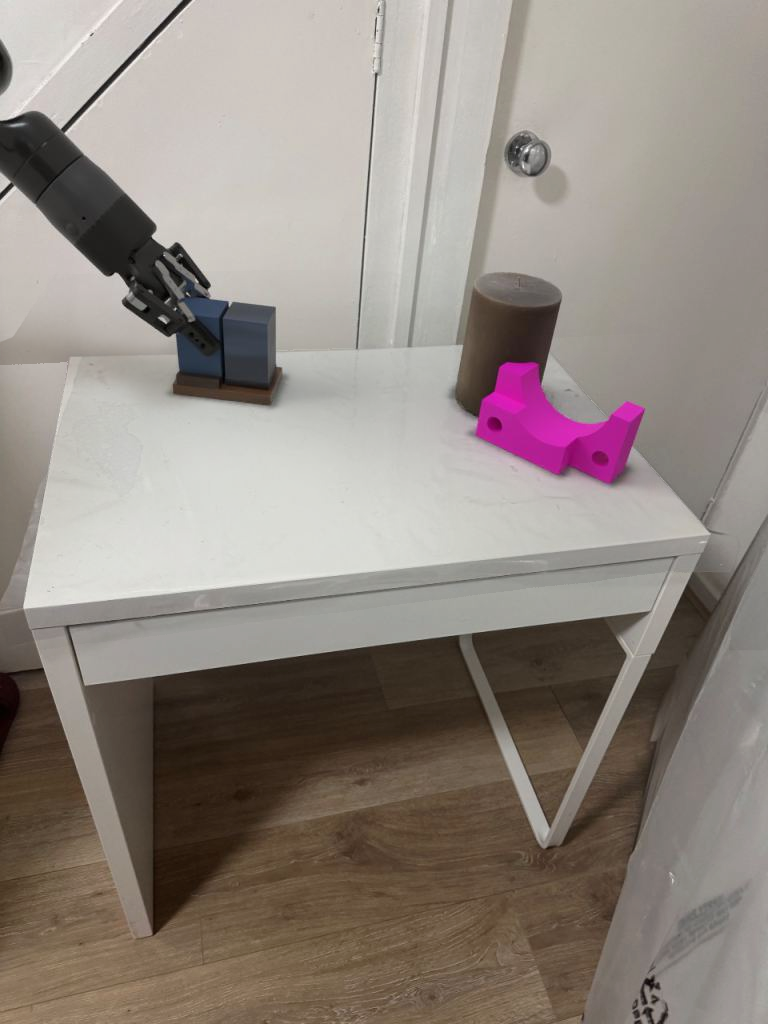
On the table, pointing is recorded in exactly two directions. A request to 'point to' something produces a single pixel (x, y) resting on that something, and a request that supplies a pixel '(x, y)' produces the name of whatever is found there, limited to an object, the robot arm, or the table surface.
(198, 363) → the blue rectangular block
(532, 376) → the magenta pipe saddle clamp
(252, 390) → the stand
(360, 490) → the table surface
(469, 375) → the pillar candle
